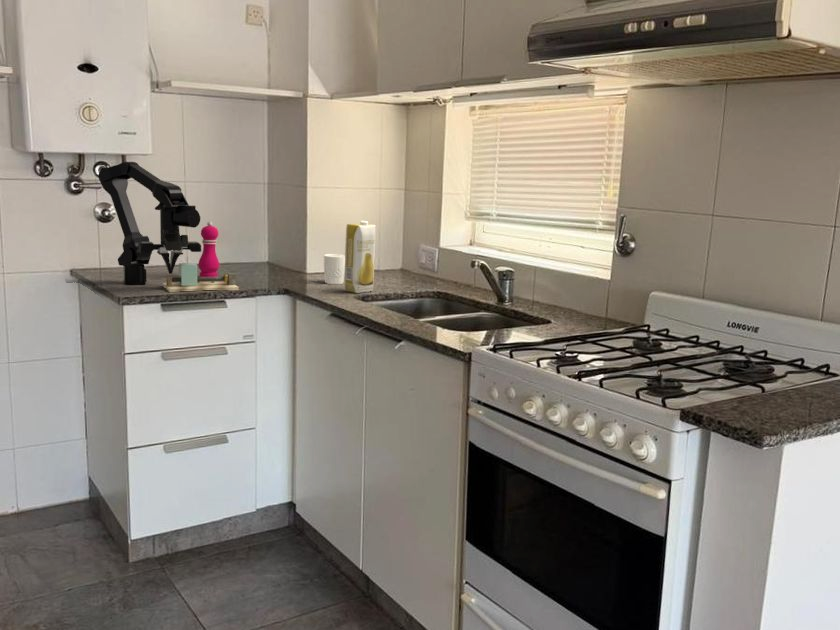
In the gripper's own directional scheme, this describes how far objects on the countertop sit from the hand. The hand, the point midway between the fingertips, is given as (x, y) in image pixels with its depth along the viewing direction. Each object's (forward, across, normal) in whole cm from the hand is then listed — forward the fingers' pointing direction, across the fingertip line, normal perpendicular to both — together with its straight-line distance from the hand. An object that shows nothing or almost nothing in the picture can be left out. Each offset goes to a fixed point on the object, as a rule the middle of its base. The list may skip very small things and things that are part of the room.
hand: (170, 273), depth 255 cm
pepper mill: (+5, +16, +20) cm, 27 cm away
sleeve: (+4, +6, 0) cm, 7 cm away
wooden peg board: (+5, +10, 0) cm, 11 cm away
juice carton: (+5, +60, -14) cm, 62 cm away
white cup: (+5, +58, +3) cm, 58 cm away
